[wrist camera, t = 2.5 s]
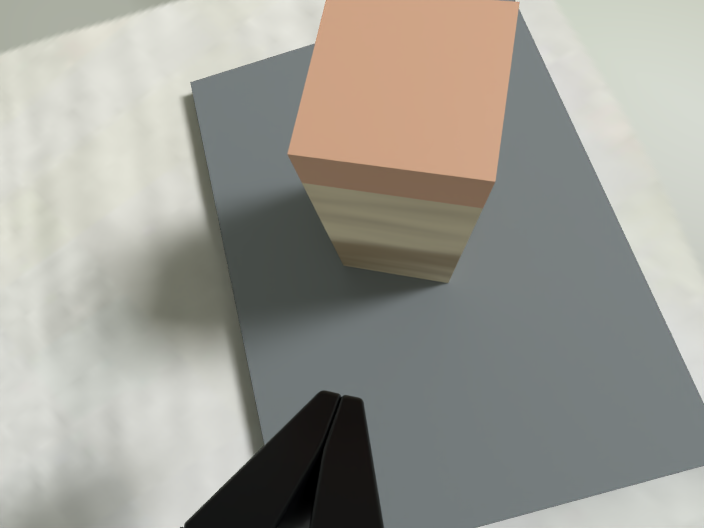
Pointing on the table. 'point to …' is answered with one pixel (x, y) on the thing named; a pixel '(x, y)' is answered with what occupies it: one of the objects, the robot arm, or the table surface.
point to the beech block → (404, 127)
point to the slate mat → (456, 316)
